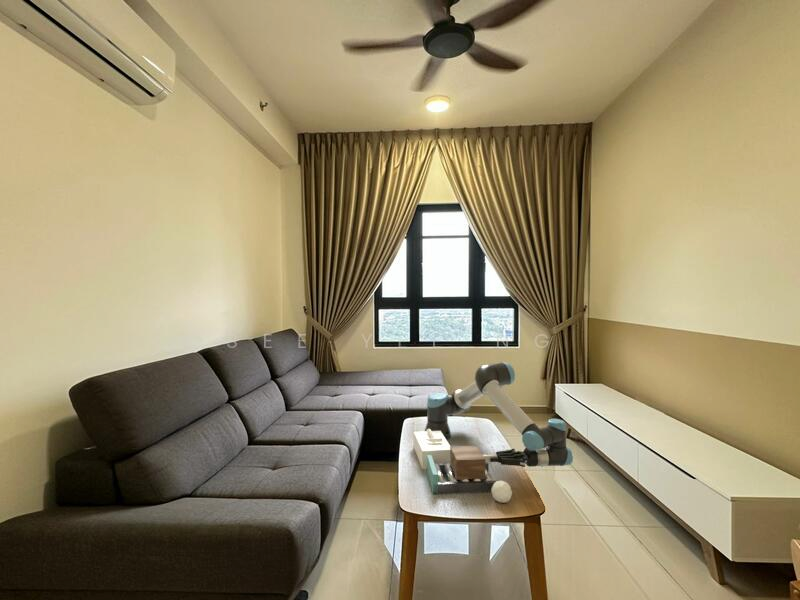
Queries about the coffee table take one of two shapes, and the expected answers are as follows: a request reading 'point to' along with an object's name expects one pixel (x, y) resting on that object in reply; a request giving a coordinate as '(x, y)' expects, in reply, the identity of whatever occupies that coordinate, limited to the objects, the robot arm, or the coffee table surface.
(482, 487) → the roller track
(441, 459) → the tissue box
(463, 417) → the coffee table surface
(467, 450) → the brown wooden block
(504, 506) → the coffee table surface
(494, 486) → the geometric ball
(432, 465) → the teal stop bar
